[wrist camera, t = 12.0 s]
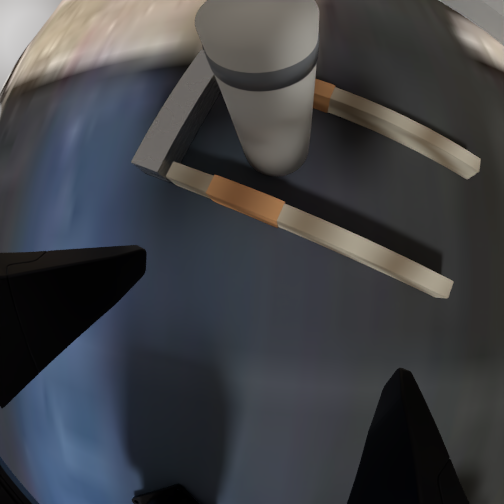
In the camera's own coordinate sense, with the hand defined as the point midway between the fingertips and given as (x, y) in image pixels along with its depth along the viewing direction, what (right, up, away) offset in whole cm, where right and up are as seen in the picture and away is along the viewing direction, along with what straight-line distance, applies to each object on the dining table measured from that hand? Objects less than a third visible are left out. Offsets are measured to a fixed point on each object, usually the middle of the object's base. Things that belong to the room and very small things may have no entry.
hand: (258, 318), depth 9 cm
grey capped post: (+2, +10, +13) cm, 16 cm away
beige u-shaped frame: (+4, +9, +12) cm, 15 cm away
